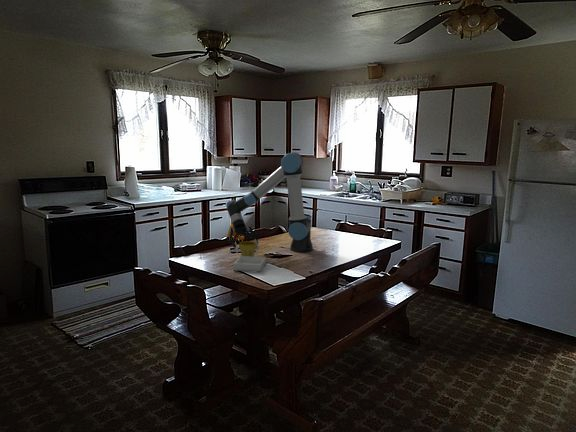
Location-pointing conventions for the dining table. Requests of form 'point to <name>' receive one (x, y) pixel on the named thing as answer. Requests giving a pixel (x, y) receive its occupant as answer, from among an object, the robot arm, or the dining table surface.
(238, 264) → the tray
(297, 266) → the dining table surface
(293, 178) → the robot arm
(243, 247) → the plant pot
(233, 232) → the orange irregular lump
